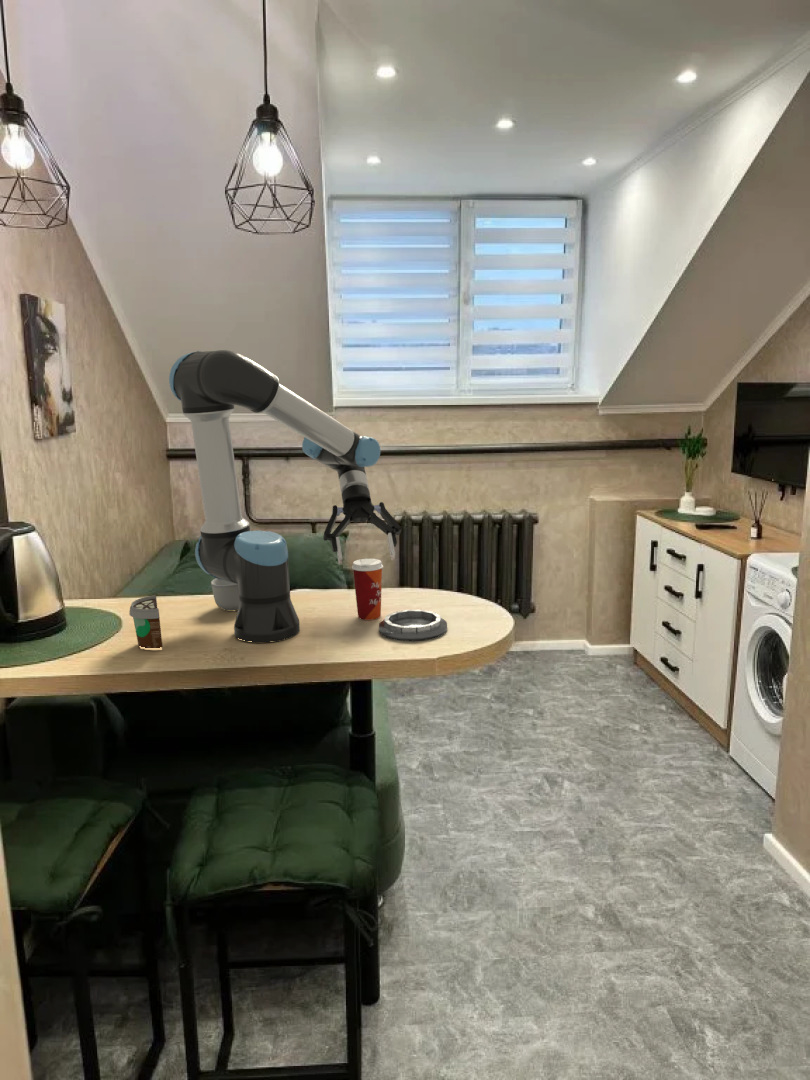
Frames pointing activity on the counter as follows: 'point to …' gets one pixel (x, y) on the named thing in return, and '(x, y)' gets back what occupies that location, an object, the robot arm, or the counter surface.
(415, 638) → the rosette plate
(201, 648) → the counter surface
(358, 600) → the paper cup
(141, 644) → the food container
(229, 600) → the teacup
